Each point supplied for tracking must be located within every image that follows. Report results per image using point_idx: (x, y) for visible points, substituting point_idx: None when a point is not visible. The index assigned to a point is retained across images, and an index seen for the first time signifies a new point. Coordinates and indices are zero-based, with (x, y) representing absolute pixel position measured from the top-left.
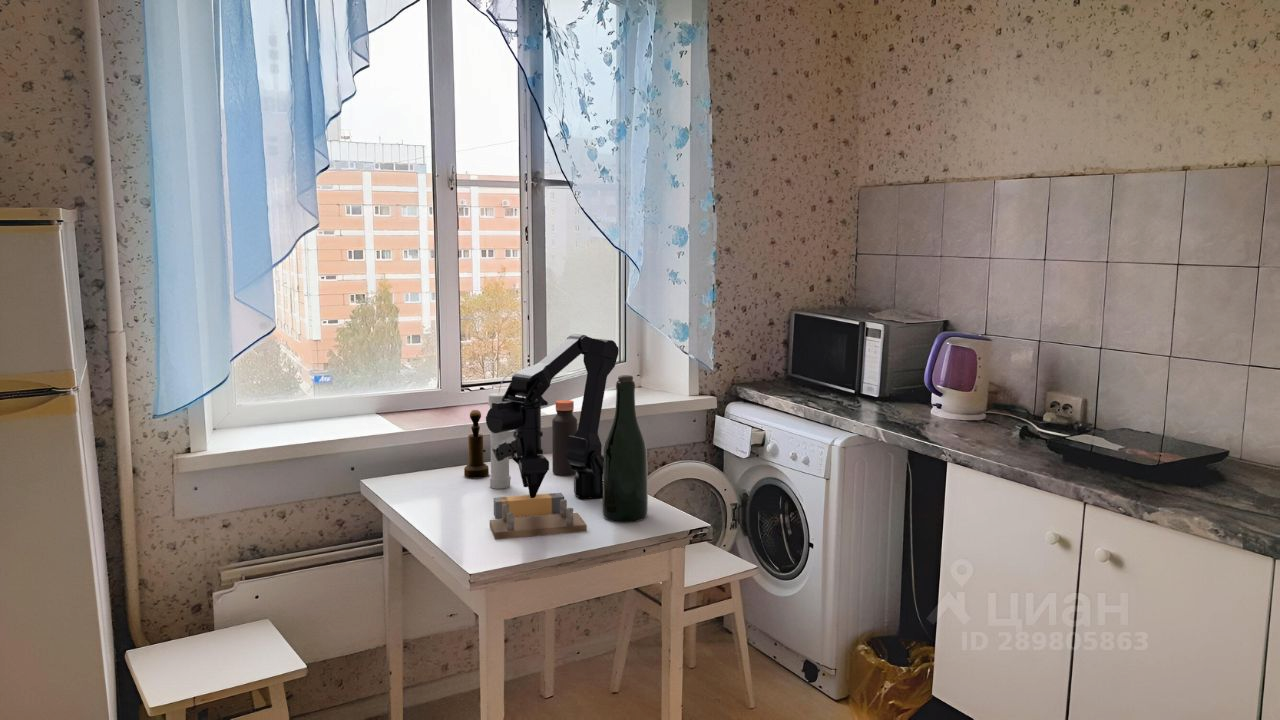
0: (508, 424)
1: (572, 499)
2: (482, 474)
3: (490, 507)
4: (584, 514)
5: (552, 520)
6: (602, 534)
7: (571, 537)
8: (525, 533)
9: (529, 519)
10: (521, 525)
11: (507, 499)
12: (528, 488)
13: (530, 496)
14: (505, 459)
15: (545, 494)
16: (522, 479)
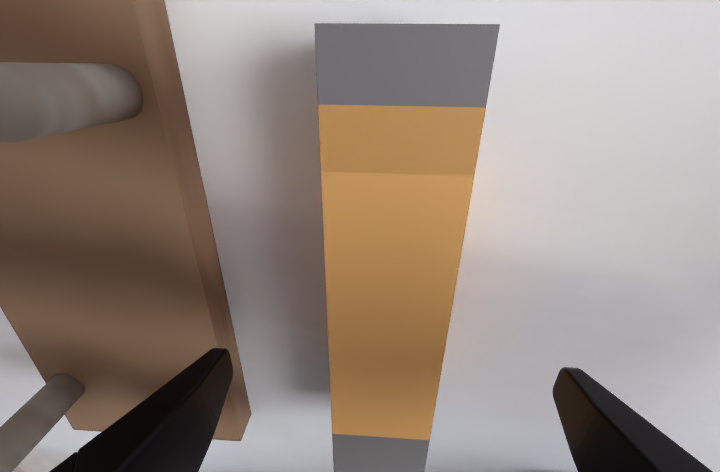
0: None
1: (533, 457)
2: None
3: (656, 39)
4: (309, 443)
5: (123, 340)
6: (67, 431)
7: (13, 348)
8: None
9: (137, 244)
10: (10, 177)
11: (376, 170)
12: (160, 410)
13: (204, 355)
14: None
15: (417, 424)
16: (613, 427)
